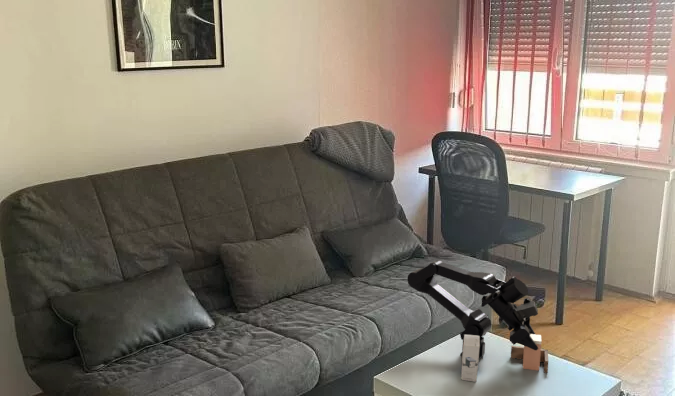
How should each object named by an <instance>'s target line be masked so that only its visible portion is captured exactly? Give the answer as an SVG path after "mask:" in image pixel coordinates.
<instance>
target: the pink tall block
mask: <svg viewBox="0 0 675 396" xmlns="http://www.w3.org/2000/svg"><path fill="white" fill-rule="evenodd" d="M530 336H531V338H532V339H533V341H534V342H535V343H536V345H537V347H538V350H533V349H531V348H529V347H526V346H524V345H523V347H524V355H523V359H522V369H524V370H531V371H540V367H541V366H540V365H541V362H540V353H541V349H542V334H536V333H535V334H530Z"/></svg>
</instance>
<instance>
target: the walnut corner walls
mask: <svg viewBox="0 0 675 396" xmlns="http://www.w3.org/2000/svg"><path fill="white" fill-rule="evenodd" d="M523 355H524V346H517V345H511V347H510V358H511V359H515V358H517V359H516V360H523ZM540 363H543V372H544V373H545V374H548V373H549V351H548V349H544V348H541V353H540Z"/></svg>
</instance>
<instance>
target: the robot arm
mask: <svg viewBox="0 0 675 396" xmlns="http://www.w3.org/2000/svg"><path fill="white" fill-rule="evenodd" d="M435 275H436V276H439V277H443V278H445V279H448V280H451V281H454V282H457V283H459V284H463V285H465V286H467V287H468V288H469V289H470V290H471V291H472V292H474V293H476V294H478V295H479V296H482V297H481V305H480V306H481V307H482V308H484V307H485V306H487V305H488V306H489V307H490V308H491V310H492V311H493V312H494V313H495V314H496V315H497V316H498V320H499V321H500V322H502V321H503V323H504V324H505V325H507V329H508V330H509V340H508V341H509V342H510V343H511V344H513V345H512V346H516V344H519V345H522V346H523V347H524V346H526V347H529V348H531V349H533V350H538V347H537V345H536V343H535V342H534V341H533V339H532V338H531V336H530V334H536V332H535V331H534V329H533V327H532V325H531V323H530V322H531V317H535V316H537V315H538V314H539V310H538V307H537V305H536V302H535V301H534V300H531V299H530V298H529V297H526V296H527V295H528V294H529V289H528V287H527V285H526V283H524V282H523V281H522V280H520V279H518V278H517V277H516V276H513V277H511V278H509V279H508V280H507V281H504V280H502V279H499V278H497V277H496V276H495V275H494V274H492V273H489V272H484V271H483V272H482V271H479V272H478V271H470V270H466V269H463V268H460V267H458V266H455V265H453V264H452V265H451V264H449V263H446V262H443V261H442V260H438V259H437V260H434V261H432V262H430V263H429V264H428V265H426V266H425V267H420V268H418V269H416V270H414V271H412V272H410V273H409V274H408V275H407V278H406V279H407V284H408V286H409V287H410V288H412V289H414V290H415V291H417V292H419V293H422V294H426V295H429V297H431V298H432V300H434V301H435V302H437V303H438V304H439V305H440V306H442V307H443V308H444V309H445V310H447V311H448V312H449V313H451V315H453V316H454V317H456V318H457V319H458V320H459V321H460V323H461V325H462V327H463V329H464V330H463V331H461V332H460V333H459V335H460V336H459V337H460V339H461V340H462V344H463V343H464V334H465V335H477V336H480V348H479V360H480V359H482V357H483V356H484V355H485V351H486V342H484V341H485V338H484V336H486V334H487V333H488V332H490V331H491V329H492V326H493V325H492V321H491V319H490V318H489V317H488V316H489V314H486V313H485V312H483V311H482V309H480V308H477V307H476V309H475V310H473V309H470V308H469V307H467V306H466V305H465V304H463V303H462V301H459V300H458V299H457V298H456V297H454V296H453V295H452V294H450V293H449V292H448V291H447V290H445V288H443V287H442V286H441V285H439V284H438V283H437V281H436V277H434V276H435ZM487 294H489V295H487ZM524 297H525V298H524ZM522 298H523V303H521V304H520V305H518V304H516V302H518V301H520V299H522ZM461 348H462V349H461V352H460V356H461V357H462V355H463V345H462V347H461Z"/></svg>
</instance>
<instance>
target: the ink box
mask: <svg viewBox="0 0 675 396" xmlns="http://www.w3.org/2000/svg"><path fill="white" fill-rule="evenodd" d="M462 346H463V355H462V356H461V357H462V358H461V372H460V373H461V376H460V377H461V380H462V381H467V382H468V381H469V382H477V381H478V379H477V377H478V370H479V369H478V368H479V361H480V359H479V348H480V336H477V335H465V334H464V343H463V342H462Z"/></svg>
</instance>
